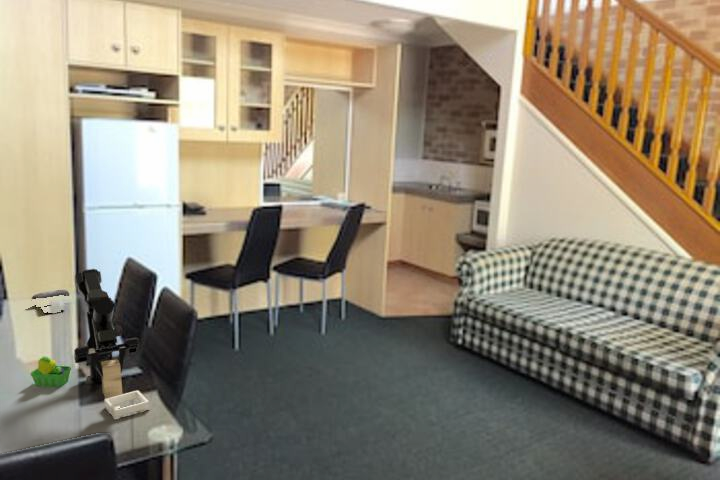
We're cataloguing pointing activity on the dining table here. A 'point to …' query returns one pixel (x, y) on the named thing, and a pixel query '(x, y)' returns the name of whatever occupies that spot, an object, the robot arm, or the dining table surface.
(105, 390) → the light brown tall block
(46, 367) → the fruit basket
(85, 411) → the dining table surface
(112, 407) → the tray
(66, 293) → the glasses case
